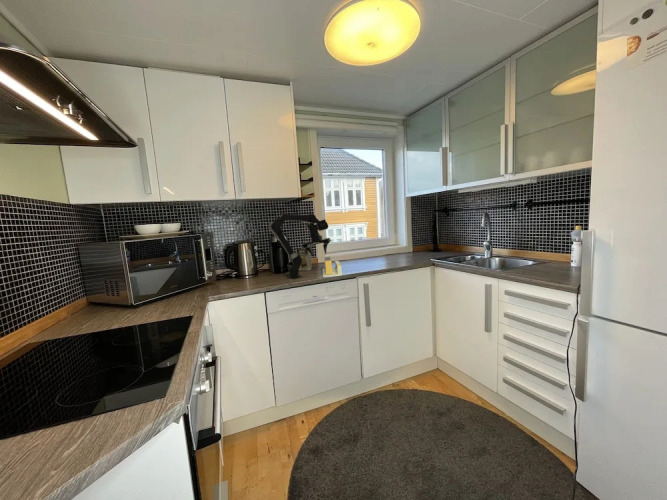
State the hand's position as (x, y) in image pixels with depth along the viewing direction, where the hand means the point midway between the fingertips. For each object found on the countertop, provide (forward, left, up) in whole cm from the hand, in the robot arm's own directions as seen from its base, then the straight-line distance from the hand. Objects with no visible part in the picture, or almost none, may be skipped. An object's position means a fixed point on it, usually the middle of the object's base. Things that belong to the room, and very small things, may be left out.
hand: (319, 254), depth 186 cm
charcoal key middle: (+3, -4, -11) cm, 13 cm away
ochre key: (-5, -9, -11) cm, 16 cm away
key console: (+4, -6, -13) cm, 15 cm away
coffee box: (+12, +21, -13) cm, 28 cm away
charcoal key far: (+12, +1, -11) cm, 17 cm away
